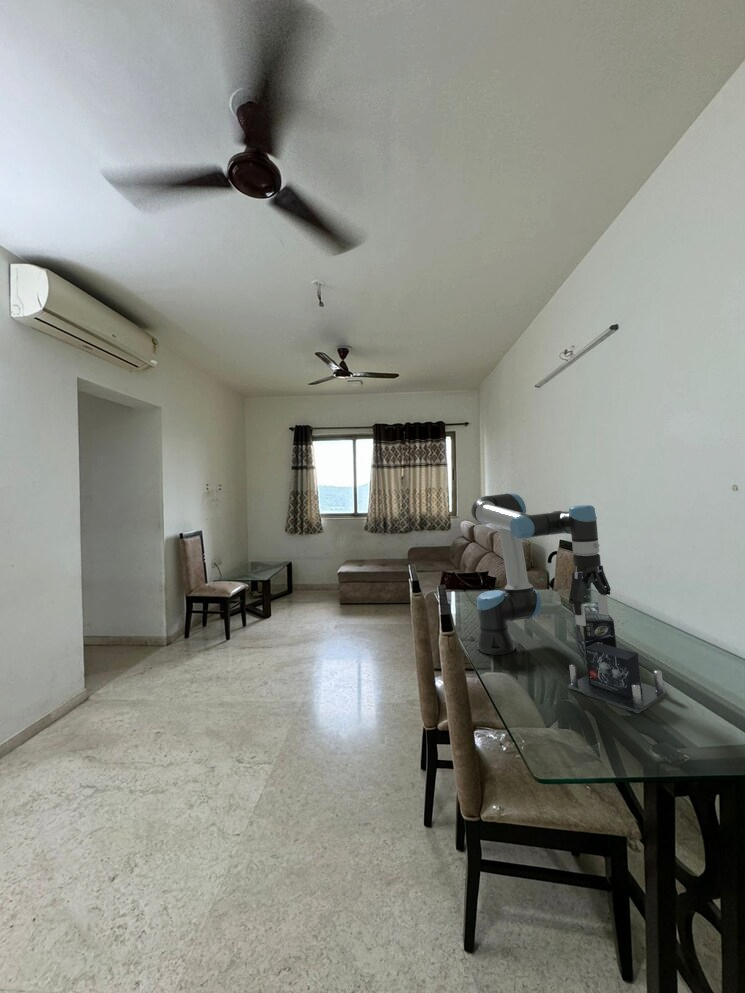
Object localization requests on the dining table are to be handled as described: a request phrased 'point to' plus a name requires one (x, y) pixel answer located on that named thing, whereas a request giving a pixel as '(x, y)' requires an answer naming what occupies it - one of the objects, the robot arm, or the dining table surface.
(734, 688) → the dining table surface
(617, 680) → the small box
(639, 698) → the chassis
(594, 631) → the box
